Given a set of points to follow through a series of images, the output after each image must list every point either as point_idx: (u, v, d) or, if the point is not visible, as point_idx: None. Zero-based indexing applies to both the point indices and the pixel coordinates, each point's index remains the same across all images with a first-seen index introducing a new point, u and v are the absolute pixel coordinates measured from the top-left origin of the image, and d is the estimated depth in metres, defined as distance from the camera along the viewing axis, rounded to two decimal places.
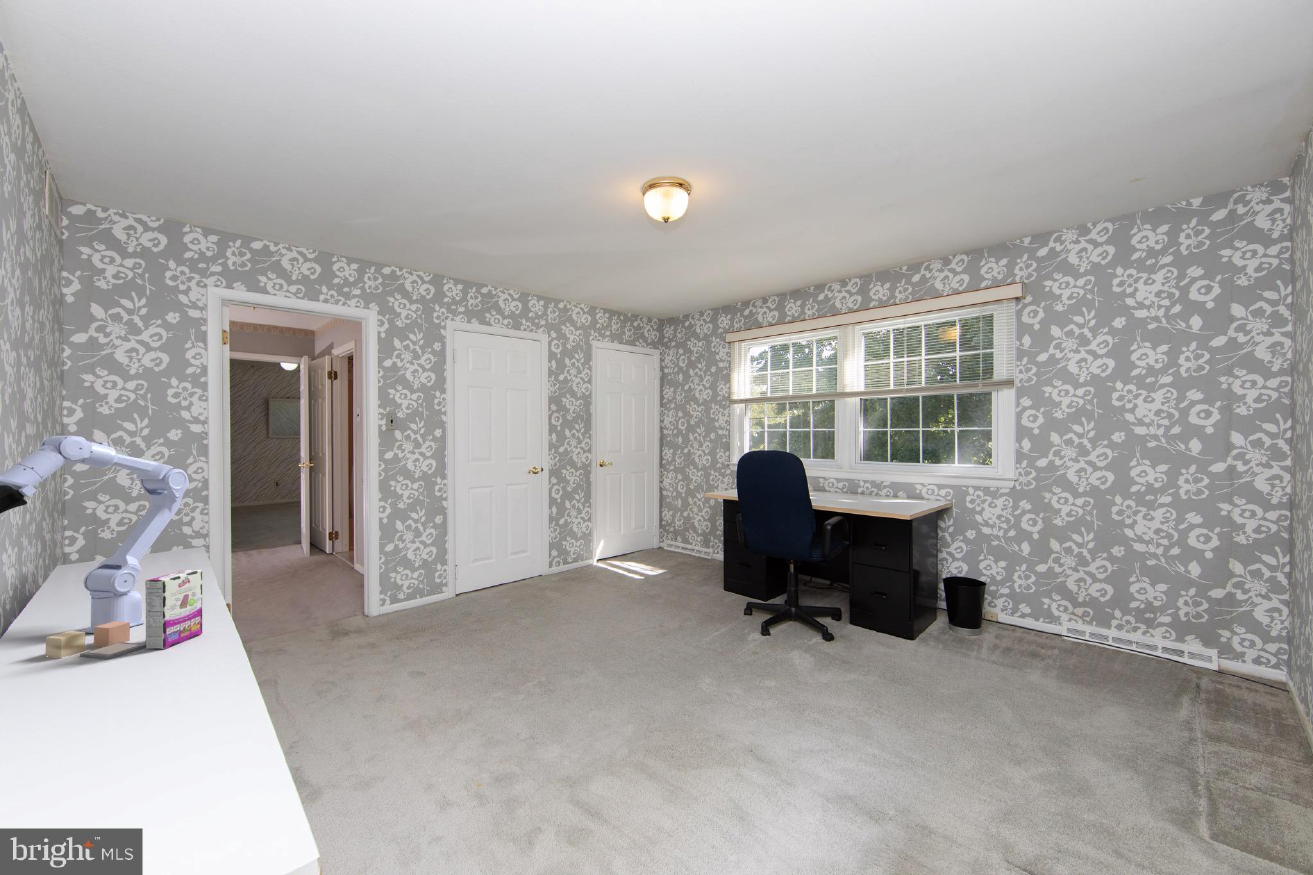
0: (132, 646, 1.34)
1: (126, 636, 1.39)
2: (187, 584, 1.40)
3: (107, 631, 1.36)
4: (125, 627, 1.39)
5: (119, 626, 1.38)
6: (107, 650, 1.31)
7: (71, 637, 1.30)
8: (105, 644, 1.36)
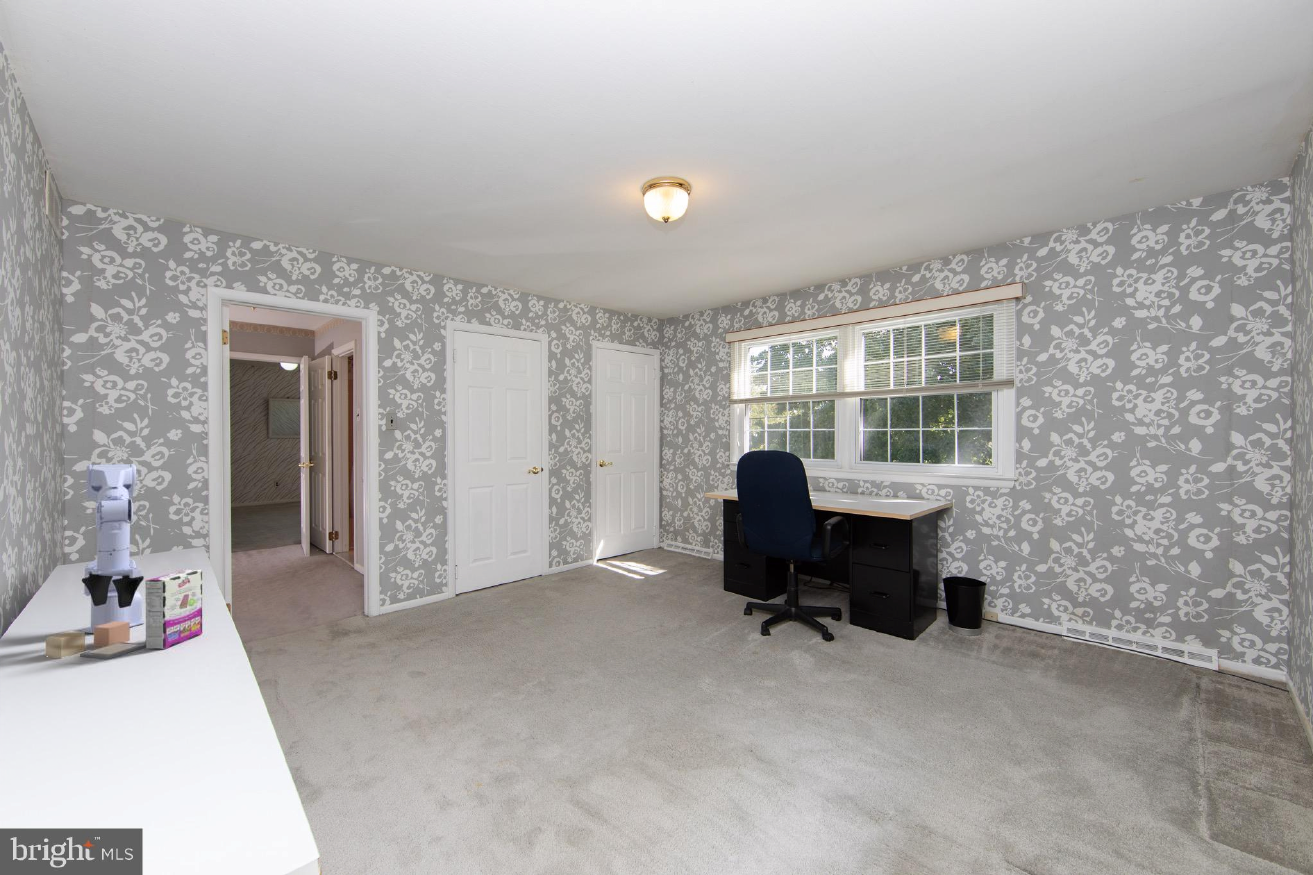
0: (132, 646, 1.34)
1: (126, 636, 1.39)
2: (187, 584, 1.40)
3: (107, 631, 1.36)
4: (125, 627, 1.39)
5: (119, 626, 1.38)
6: (107, 650, 1.31)
7: (71, 637, 1.30)
8: (105, 644, 1.36)
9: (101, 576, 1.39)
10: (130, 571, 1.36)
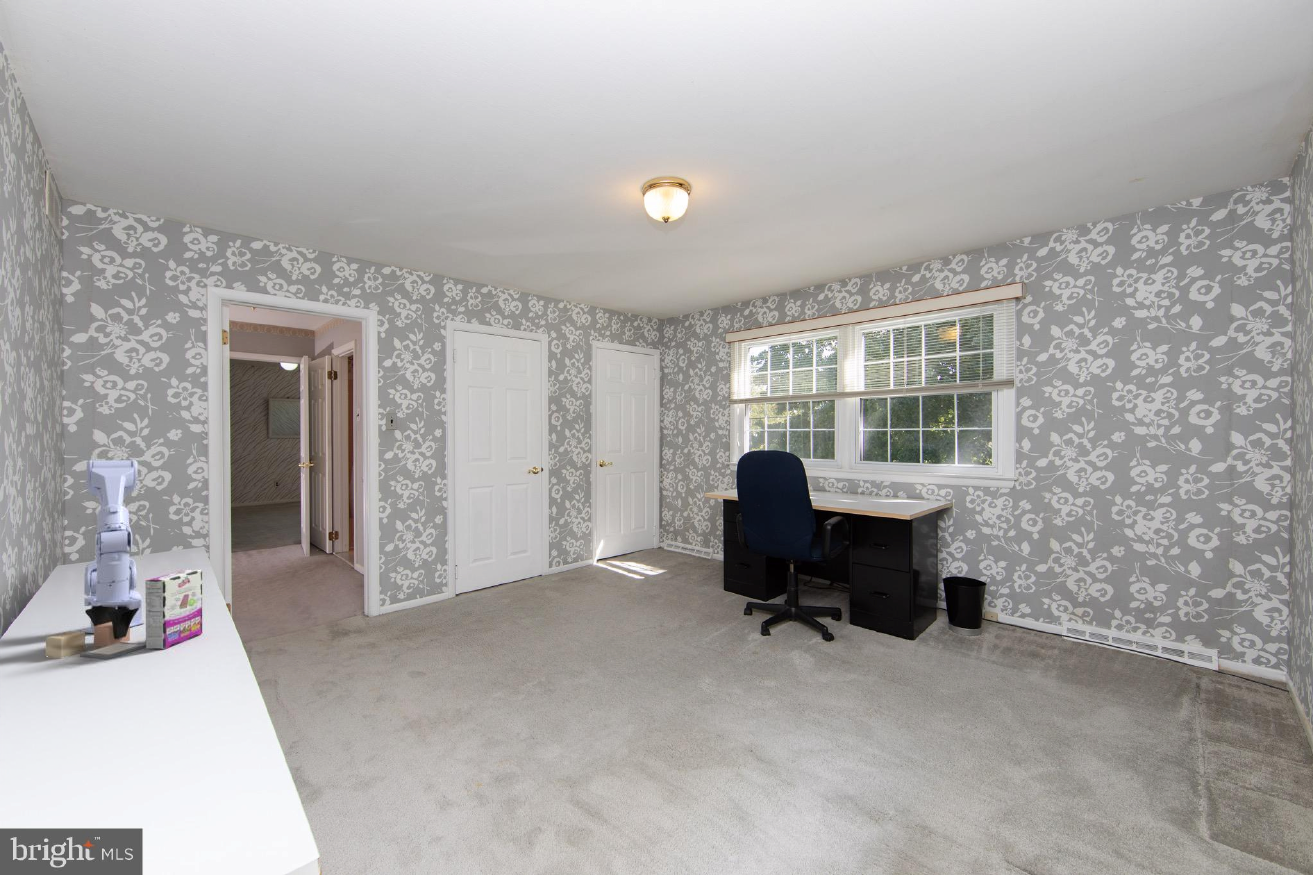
0: (132, 646, 1.34)
1: (126, 636, 1.39)
2: (187, 584, 1.40)
3: (107, 630, 1.36)
4: None
5: None
6: (107, 650, 1.31)
7: (71, 637, 1.30)
8: (105, 644, 1.36)
9: (105, 607, 1.39)
10: (129, 602, 1.36)
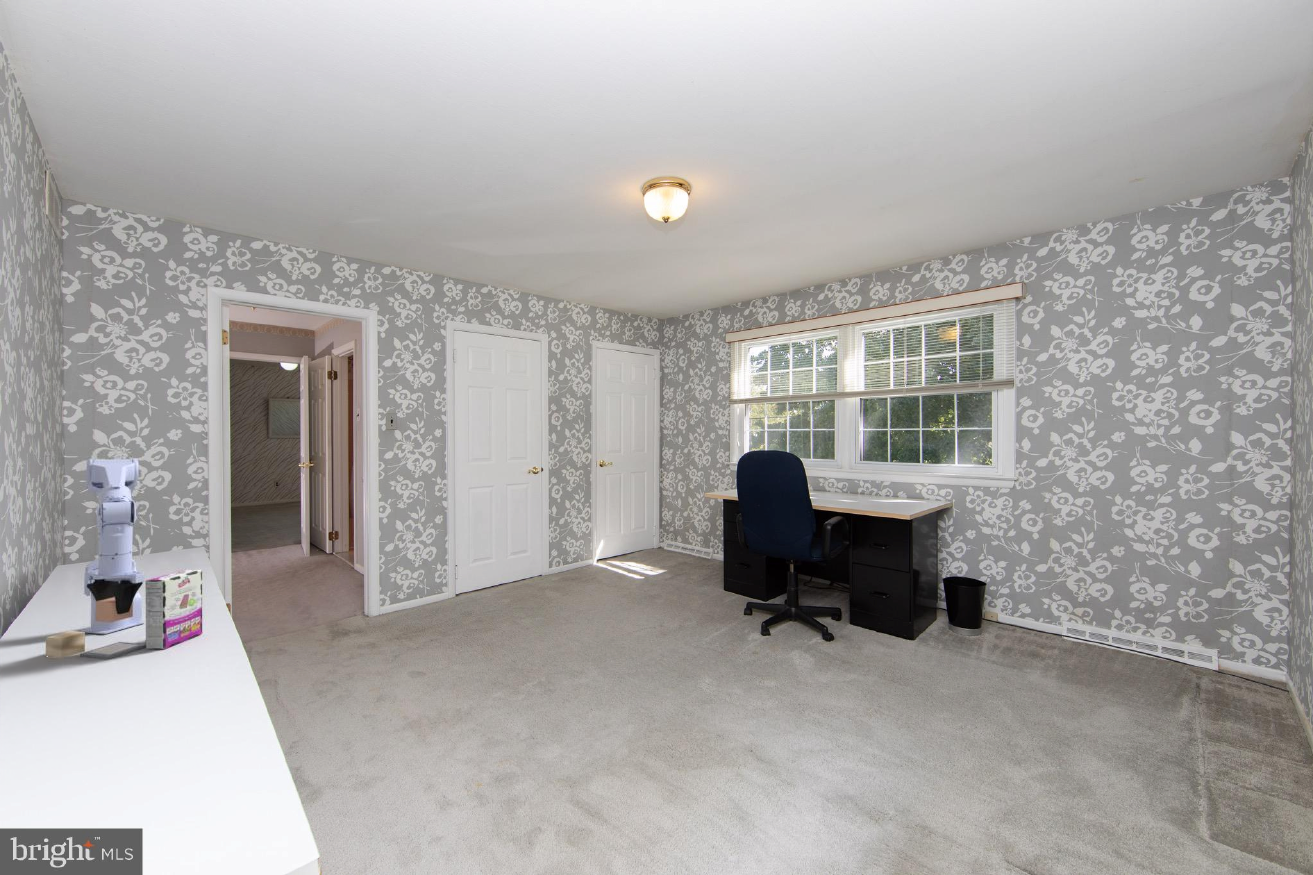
0: (132, 646, 1.34)
1: (129, 612, 1.34)
2: (187, 584, 1.40)
3: (109, 606, 1.30)
4: None
5: None
6: (107, 650, 1.31)
7: (71, 637, 1.30)
8: (107, 619, 1.30)
9: (107, 581, 1.33)
10: (133, 576, 1.30)
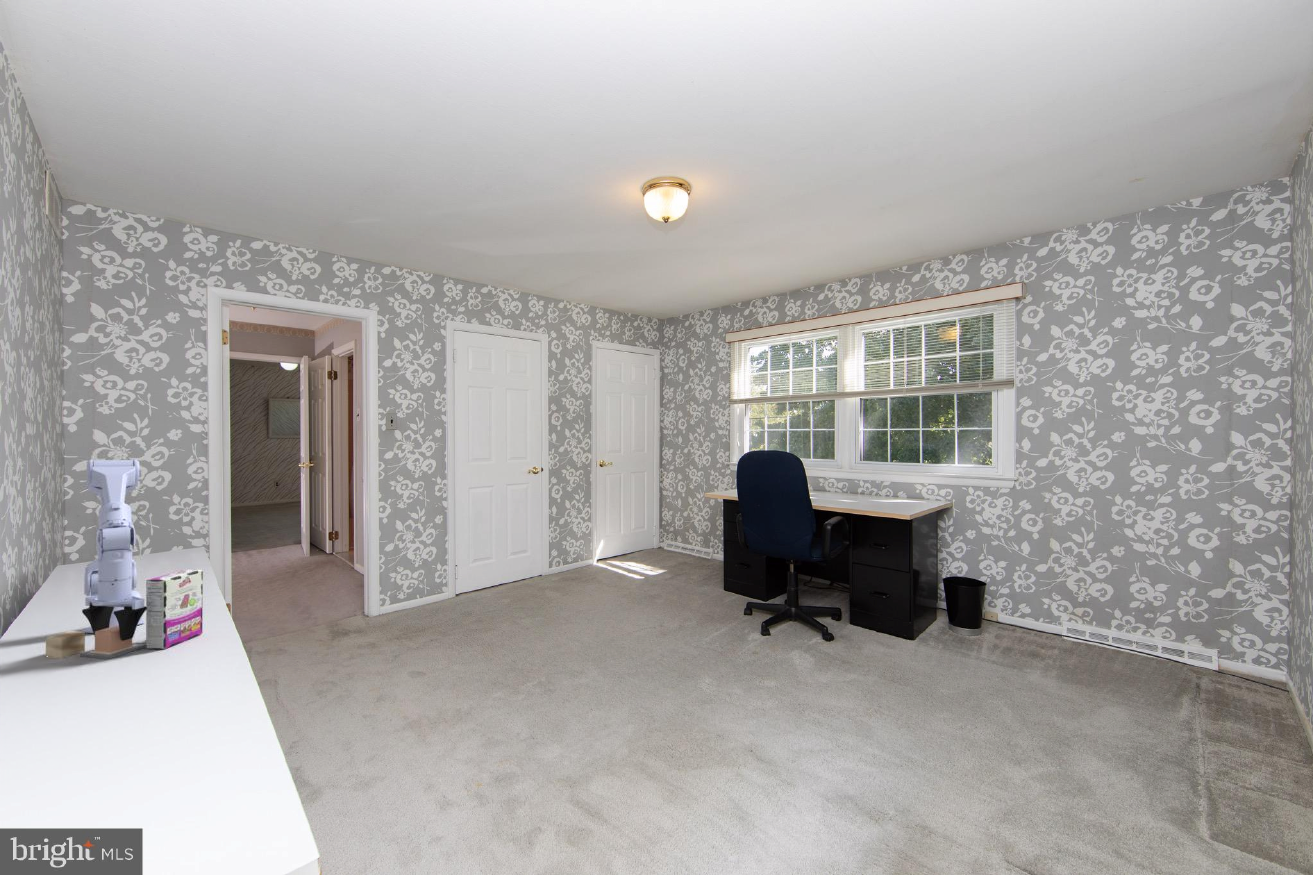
0: (132, 646, 1.34)
1: (128, 641, 1.33)
2: (188, 583, 1.40)
3: (109, 636, 1.30)
4: None
5: None
6: None
7: (71, 637, 1.30)
8: (107, 649, 1.30)
9: (102, 606, 1.33)
10: (132, 602, 1.30)
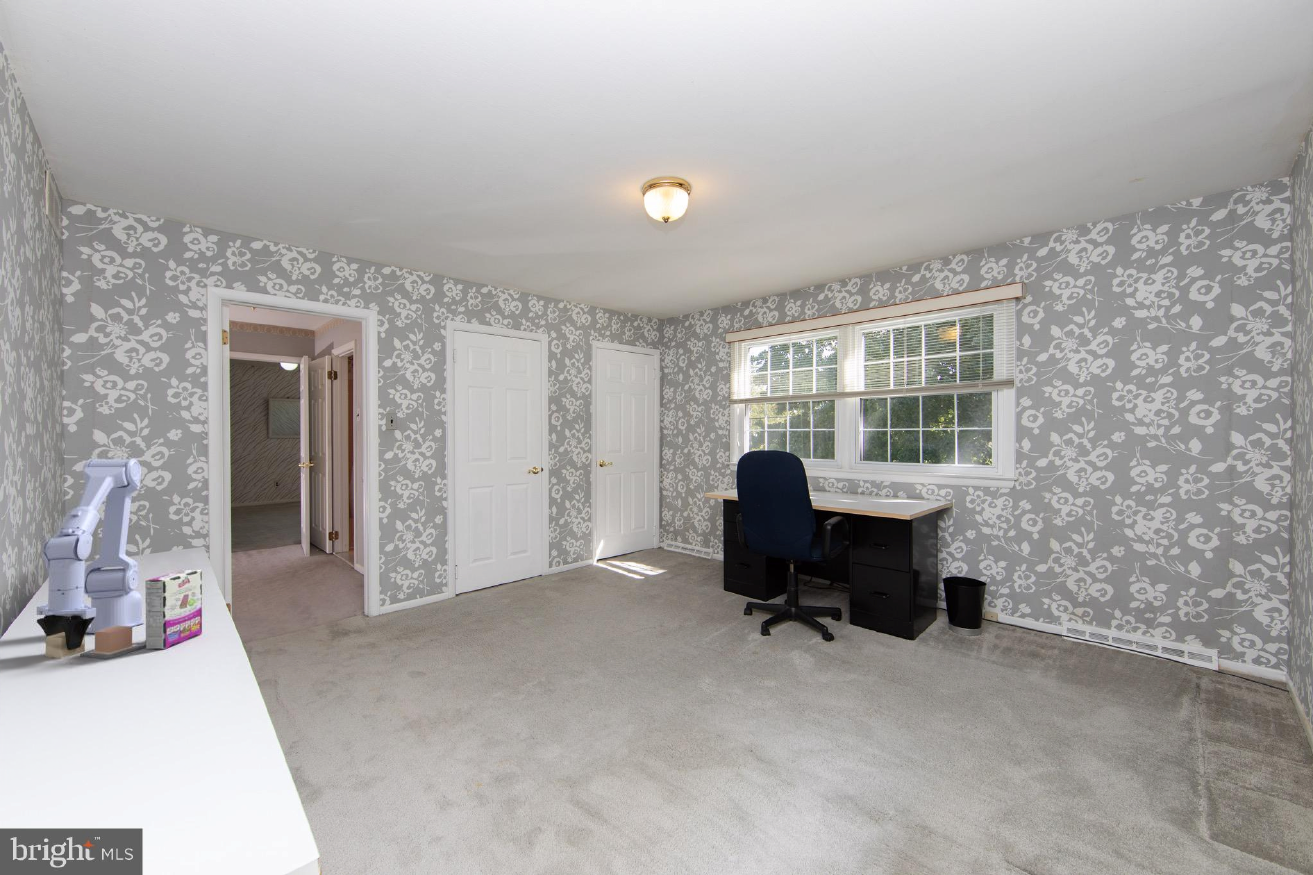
0: (132, 646, 1.34)
1: (128, 641, 1.33)
2: (187, 584, 1.40)
3: (109, 636, 1.30)
4: (128, 632, 1.33)
5: (121, 630, 1.32)
6: None
7: None
8: (107, 649, 1.30)
9: (58, 616, 1.31)
10: (83, 611, 1.29)
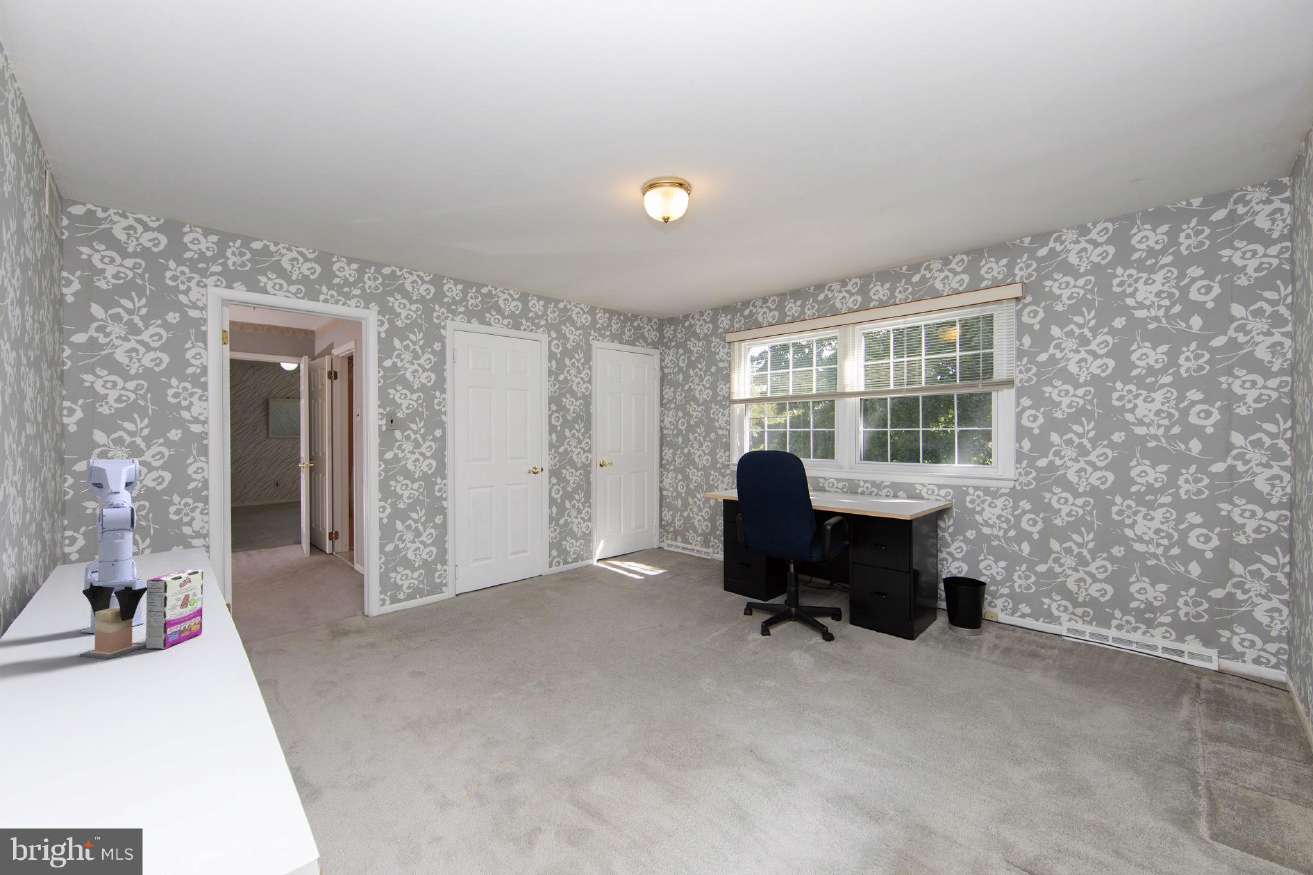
0: (132, 646, 1.34)
1: (128, 641, 1.33)
2: (188, 583, 1.40)
3: (109, 636, 1.30)
4: (128, 632, 1.33)
5: (121, 630, 1.32)
6: None
7: None
8: (107, 649, 1.30)
9: (103, 587, 1.33)
10: (133, 582, 1.30)
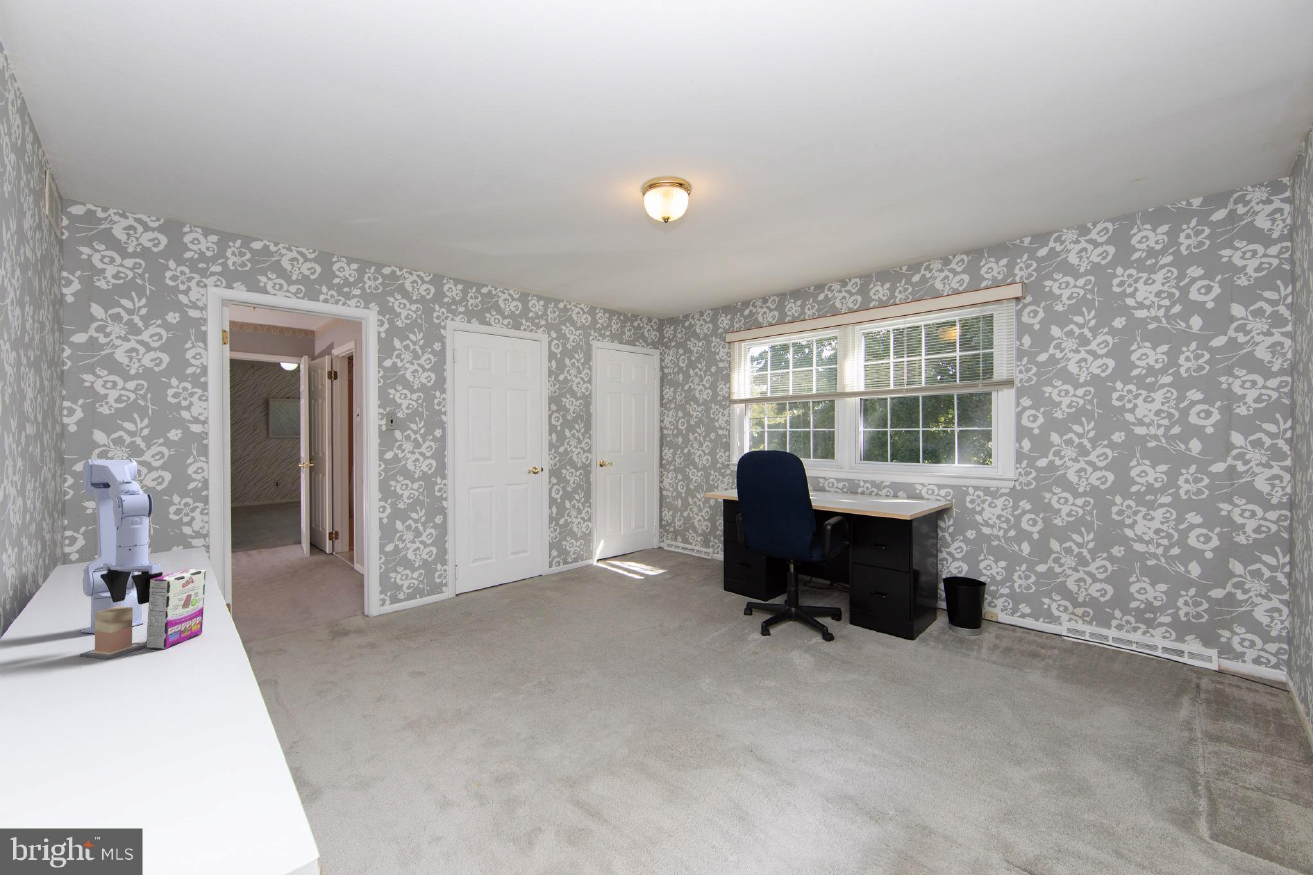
0: (132, 646, 1.34)
1: (128, 641, 1.33)
2: (191, 584, 1.40)
3: (109, 636, 1.30)
4: (128, 632, 1.33)
5: (121, 630, 1.32)
6: None
7: (120, 612, 1.32)
8: (107, 649, 1.30)
9: (120, 572, 1.37)
10: (149, 567, 1.34)
